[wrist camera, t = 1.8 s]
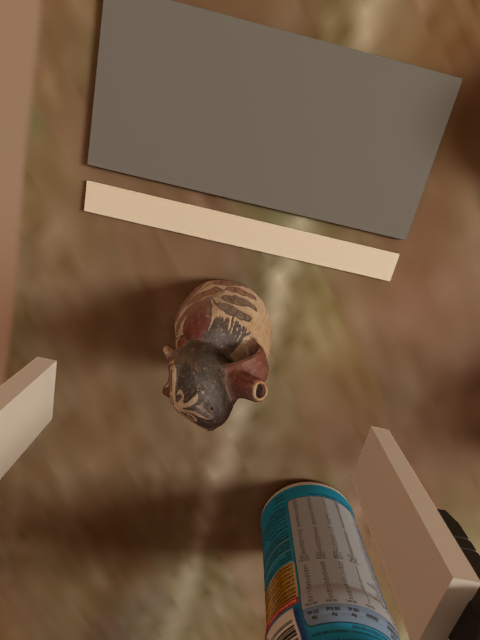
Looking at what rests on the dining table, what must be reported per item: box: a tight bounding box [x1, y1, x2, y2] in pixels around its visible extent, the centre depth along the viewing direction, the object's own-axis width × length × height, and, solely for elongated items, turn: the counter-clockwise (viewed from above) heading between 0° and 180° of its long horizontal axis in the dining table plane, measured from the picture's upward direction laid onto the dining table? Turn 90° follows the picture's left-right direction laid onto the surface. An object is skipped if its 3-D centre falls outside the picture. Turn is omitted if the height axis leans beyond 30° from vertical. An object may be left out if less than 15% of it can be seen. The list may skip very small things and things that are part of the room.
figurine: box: [163, 280, 272, 431], centre depth 23 cm, size 7×7×12 cm
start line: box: [84, 180, 399, 281], centre depth 27 cm, size 2×22×1 cm, turn 77°
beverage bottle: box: [261, 482, 400, 640], centre depth 25 cm, size 8×8×20 cm
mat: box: [87, 0, 463, 240], centre depth 24 cm, size 10×22×1 cm, turn 77°
